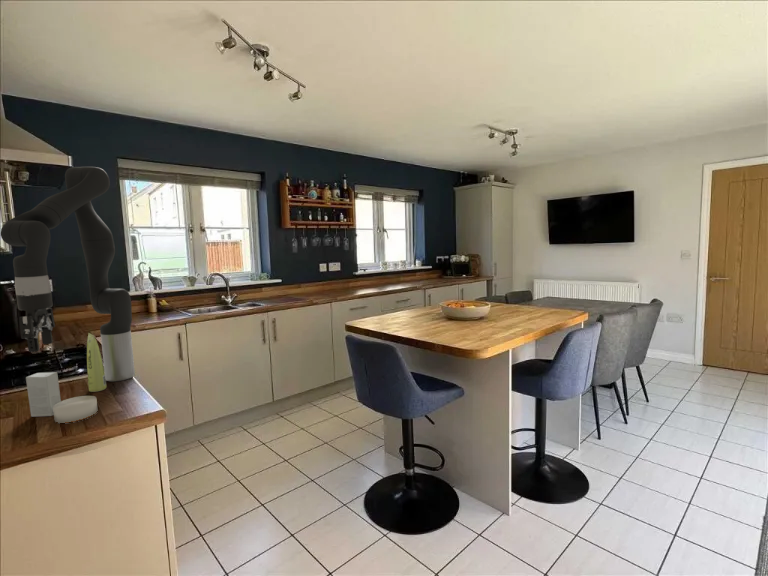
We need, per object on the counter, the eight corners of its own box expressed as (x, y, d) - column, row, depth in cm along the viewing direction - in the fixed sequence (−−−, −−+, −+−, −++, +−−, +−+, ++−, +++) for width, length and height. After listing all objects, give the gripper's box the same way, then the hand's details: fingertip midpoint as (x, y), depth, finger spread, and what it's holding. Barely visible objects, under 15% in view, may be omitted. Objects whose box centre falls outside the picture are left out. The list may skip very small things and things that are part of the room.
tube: (83, 392, 134) (76, 335, 131) (94, 386, 139) (88, 332, 136) (100, 392, 134) (94, 335, 131) (110, 386, 139) (104, 331, 136)
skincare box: (62, 410, 120) (58, 371, 118) (51, 416, 116) (46, 376, 114) (42, 410, 120) (37, 372, 118) (30, 417, 116) (24, 377, 114)
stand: (63, 411, 119) (61, 398, 119) (102, 406, 122) (101, 393, 122) (48, 426, 110) (46, 412, 109) (91, 420, 113) (89, 406, 113)
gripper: (29, 289, 118) (37, 342, 120) (3, 296, 105) (11, 356, 107) (60, 288, 121) (66, 340, 123) (38, 294, 107) (46, 352, 110)
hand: (41, 347), depth 115 cm, fingers open, 8 cm apart
